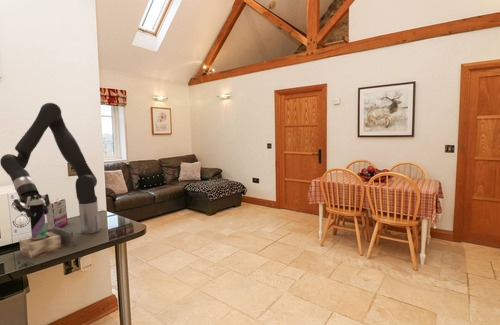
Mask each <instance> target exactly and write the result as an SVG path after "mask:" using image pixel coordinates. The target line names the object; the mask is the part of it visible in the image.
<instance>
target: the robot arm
mask: <svg viewBox="0 0 500 325" xmlns="http://www.w3.org/2000/svg"><path fill="white" fill-rule="evenodd" d="M48 128H49V129H50V130H51V133H52V135H53V138H54V141H55V144H56V145H57V148H58V150H59V151H60V154H61V155H62V157H63V159H64V160H65V161H66V162H67V163H68V164H69V165H70V166H71V168H73V170H74V172H75V173H76V175H77V179H76V180H75V193H76V194H75V195H76V199H77V201H78V210H79V211H78V212H79V224H80V233H81V234H84V235H88V234H94V233H96V232H97V233H98V232H99V231H100V230H101V224H100V223H101V221H100V220H101V219H100V213H99V207H98V197H97V196H96V192H95V191H96V190H95V189H96V188H95V187H96V186H97V184H98V180H97V177H96V175H95V174H94V172H93V171H92V170H91V168H90V166H89V165H88V163H87V161H86V158H85V156H84V154H83V152H82V150H81V148H80V146H79V144H78V141H77V140H76V139H75V137H74V136H73V134H72V133H71V132H70V130H69V129H68V128H67V126H66V123H65V122H64V118H63V116H62V109H61V108H60V106H59V105H57V104H56V103H54V102H45V103H44V104H42V105H41V106H40V110H39V112H38V114H37V116H36V118H35V120H34V122H33V123H32V124H31V126H30V127H29V128H28V129H27V131H26V132H25V133H24V134H23V136H22V137H21V139H20V140H19V141H18V142H17V143H16V145H15V147H14V149H15V151H17V155H15V154H10V153H9V154H8V153H6V154H4V155H3V156H1V158H0V166H1V168H2V169H3V170H4V171H5V173H6V174H7V175H8V176H9V177H10V179H11V182H12V183H13V187H14V190H15V191H16V194H17V196H18V198H19V199H18V198H17V199H14V200H13V201H12V205H13V206H14V207H15V208H16V209H17V211H18V213H22V212H24V213H25V215H26V217H27V218H29V219H30V218H32V216H33V215H32V212H31V210H30V209H29V202H30V201H32V199H33V197H36V196H38V198H40V200H43V201H44V213H45V216H46V214H47V213H48V211H49V210H48V208H47V207H48V206H49V204H50V202H51V201H50V197H49V194H47V193H46V194H45V195H41V194H40V193H39V190H38V187H37V186H36V185H35V183H34V181H33V179H32V177H31V176H30V174H29V172H28V171H27V170H26V169H25V168H27V166H28V164H29V160H30V157H31V154H32V152H33V151H34V150H35V148H36V147H37V145H38V144H39V143H40V141H41V139H42V137H43V136H44V134H45V132H46V131H47V129H48ZM21 203H22V204H24V206H23V205H22V204H21Z"/></svg>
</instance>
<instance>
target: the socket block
mask: <svg viewBox="0 0 500 325" xmlns="http://www.w3.org/2000/svg"><path fill="white" fill-rule="evenodd" d="M18 243H19V249H20V250H19V251H20V252H21V253H23V254H26V255H28V256H30V257H35V256H38V255H41V254H44V253H47V252H50V251H53V250H56V249H59V248H61V238H60V236H59V235H56V234H53V232H51V231H46V237H45V238H42V239H37V240H33V239H32V235H31V236H28V237H25V238H21V239H19V240H18ZM21 253H20V254H21ZM23 254H22V255H23Z"/></svg>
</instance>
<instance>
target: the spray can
mask: <svg viewBox="0 0 500 325" xmlns="http://www.w3.org/2000/svg"><path fill="white" fill-rule="evenodd" d="M44 203H45V201H44V200H43V199H41V200H40V198H38V196H36V197H33V199H32V201H30V202H29V209H30V210H31V212H32V215H33V216H32V218H29V219H30V220H29V221H30V231H31V232H30V233H31V236H32V239H33V240H37V239H42V238H45V237H46V232H47V227H46V226H47V225H46V215H45V213H44Z"/></svg>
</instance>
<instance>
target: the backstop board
mask: <svg viewBox="0 0 500 325" xmlns="http://www.w3.org/2000/svg"><path fill="white" fill-rule="evenodd" d="M52 233H53V234H56V235H59V236H60V238H61V248H59V249H56V250H53V251H50V252H47V253H44V254H41V255H38V256H35V257H30V256H28V255H26V254H23V253H21V252H20V250H18V251H17V253H19V254H20V255H23V256H25V257H26V258H29V259H31V260H36V259H40V258H43V257H45V256H48V255H52V254H53V253H56V252H60V251H62V250H65V249H68V248H72V247H75V243H74V232H73V231H70V230H68V229H64V228H62V227H60V228H59V227H53V230H52Z"/></svg>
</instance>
